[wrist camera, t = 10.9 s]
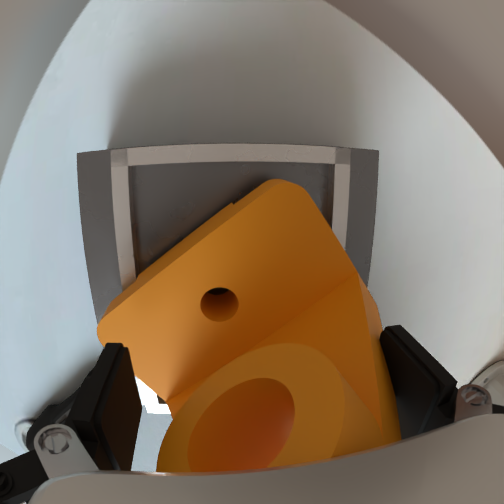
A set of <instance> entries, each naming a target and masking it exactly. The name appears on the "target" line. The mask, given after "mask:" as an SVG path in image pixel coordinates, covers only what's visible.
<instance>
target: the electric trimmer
mask: <svg viewBox="0 0 504 504" xmlns="http://www.w3.org/2000/svg"><path fill="white" fill-rule="evenodd" d="M93 370H94V369H93ZM93 370H92V371H91V372H89V374H88V375H87V377H90V376H91V374H92V372H93ZM80 388H81V387H80ZM80 388H79V389H78V390H77V391H76V392H75V393H74V394H72V395H71V396H70V397H69V398H68V399H66V400H65V401H64V402H63V403H61V404H59V405H58V406H54V405H49V406H48V407H47V408H46V409H45V410H44V411H43V413H42V414H41V415H40V416H39V417H38V419H37V420H36V421H35V422H34V424H33V425H32V426H31V427H30V429H29V430H28V432H27V437H26V446H27V448H28V450H29V451H31V450H34V449H35V447H34V438H35V436H36V434H37V433H38V432H39V431H40V430H41V429H42V428H44V427H46V426H48V425H52V424H62V425H64V424H65V421H66V419H67V417H68V414H69V412H70V410H71V407H72V405H73V403H74V401H75V398H76V396H77V394H78V392H79V390H80Z"/></svg>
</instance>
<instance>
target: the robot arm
mask: <svg viewBox="0 0 504 504" xmlns="http://www.w3.org/2000/svg"><path fill="white" fill-rule="evenodd" d="M379 340H380V344H381V347H382V350H383V354H384V357H385V360H386V364H387V367H388V371H389V375H390V378H391V382H392V385H393V389H394V393H395V397H396V404H397V410H398V417H399V424H400V432H401V439H402V440H400V441H397V442H393V443H390V444H386V445H383V446H379V447H375V448H372V449H368V450H364V451H360V452H355V453H351V454H347V455H342V456H338V457H333V458H328V459H322V460H317V461H311V462H305V463H299V464H293V465H285V466H278V467H269V468H260V469H250V470H237V471H220V472H144V471H131V466H132V461H133V455H134V449H135V444H136V438H137V433H138V428H139V423H140V418H141V413H142V403H141V399H140V395H139V391H138V387H137V383H136V379H135V375H134V371H133V366H132V362H131V357H130V352H129V349H128V347H124V345H123V344H122V343H106V344H105V347H104V349H103V351H102V353H101V355H100V357H99V359H98V361H97V363H96V366H95V368H94V370H93V372H92V374H91V376H90V377H86V378H85V379H84V381H83V383H82V385H81V388H80V390H79V392H78V394H77V396H76V398H75V401H74V403H73V405H72V407H71V410H70V412H69V414H68V417H67V419H66V421H65V424H64V425H62V424H52V425H48V426H46V427H44V428H42V429H41V430H40V431H39V432H38V433H37V434H36V436H35V438H34V447H35V449H34V450H31V451H29V452H27V453H25V454H22V455H20V456H18V457H15V458H13V459H11V460H8V461H6V462H4V463H1V464H0V504H504V360H503V361H499V362H497V363H495V364H493V365H492V366H490V367H489V368H487V369H486V370H485V371H483V372H482V373H481V374H480V375H479V376H478V377H477V378H476V379H475V380H474V381H473V382H472V383H471V384H467V385H463V386H461V387H460V388H459V389H457V388H456V384H457V381H456V380H455V379H454V378H453V376H452V375H451V374H450V373H449V372H448V371H447V370H446V369H445V368H444V367H443V366H442V365H441V364H440V363H439V362H438V361H437V360H436V359H435V358H434V357H433V356H432V355H431V354H430V353H429V352H428V351H427V350H426V349H425V348H424V347H423V346H422V345H421V344H420V343H419V342H417V341H416V340H415V339H414V338H413V337H412V336H411V335H410V334H409V333H408V332H407V331H406V330H405V329H404V328H403V327H402V326H401V325H394V326H387V327H385V329H384V331H382V332H381V334H380V339H379Z"/></svg>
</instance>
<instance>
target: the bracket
mask: <svg viewBox="0 0 504 504" xmlns="http://www.w3.org/2000/svg"><path fill="white" fill-rule="evenodd" d="M217 287H222V288H227V289H229V290H228V291H227V292H226V293H224V294H221V295H213V294H210V293H208V292H207V291H209V290H210V289H213V288H217ZM382 331H383V329H382V325H381V320H380V316H379V312H378V308H377V305H376V303H375V301H374V299H373V298H372V296H371V294H370V292H369V291H368V289H367V287H366V285H365V284H364V282H363V280H362V279H361V277H360V275H359V273H358V272H357V270H356V268H355V267H354V265H353V263H352V262H351V260H350V258H349V257H348V255H347V253H346V252H345V250H344V249H343V247H342V245H341V244H340V242H339V240H338V239H337V237H336V236H335V234H334V232H333V231H332V229H331V228H330V226H329V224H328V223H327V221H326V220H325V218H324V217H323V215H322V214H321V212H320V210H319V209H318V207H317V206H316V204H315V203H314V201H313V200H312V198H311V197H310V195H309V194H308V192H307V191H306V190H305V189H304V188H302V187H301V186H299V185H297V184H294V183H292V182H289V181H286V180H283V179H271V180H268V181H266V182H264V183H263V184H261V185H260V186H259V187H257V188H256V189H254V190H253V191H252V192H250V193H249V194H248V195H246V196H245V197H244V198H242V199H241V200H240V201H238V202H237V203H235V204H233V203H230V204H229V205H228V206H226V207H225V208H224V209H222V210H221V211H220V212H218V213H217V214H216V215H214V216H213V217H212V218H210V219H209V220H208V221H206V222H205V223H204V224H202V225H201V226H200V227H199V228H197V229H196V230H195V231H193V232H192V233H191V234H190V235H188V236H187V237H186V238H184V239H183V240H182V241H181V242H179V243H178V244H177V245H175V246H174V247H173V248H172V249H170V250H169V251H168V252H167V253H165V254H164V255H163V256H162V257H160V258H159V259H158V260H157V261H155V262H154V263H153V264H152V265H150V266H149V267H148V268H147V269H145V270H144V271H143V272H142V273H140V274H139V275H138V277H137V279H136V281H135V282H134V283H133V284H132V285H130V286H129V287H128V288H127V289H126V290H124V291H123V292H122V293H121V294H120V295H118V296H117V297H116V298H115V299H113V300H112V301H111V303H110V304H109V306H108V308H107V309H106V311H105V313H104V315H103V317H102V318H101V320H100V322H99V324H98V327H97V335H98V338H99V341H100V342H101V344H102V345H103V346H104V347H105V344H106V343H122V344H123V345H124V347H128V349H129V352H130V357H131V362H132V366H133V371H134V375H135V376H136V377H137V378H138V379H139V380H141V381H142V382H143V383H144V384H145V385H146V386H147V387H149V388H150V389H151V390H152V391H153V392H155V393H156V394H157V395H158V396H159V397H161V398H162V399H163V400H164V401H165V402H166V404H167V406H168V409H169V411H170V413H171V416H172V418H173V420H172V422H171V424H170V426H169V428H168V430H167V432H166V434H165V436H164V439H163V441H162V444H161V447H160V451H159V455H158V460H157V468H156V472H220V471H237V470H250V469H260V468H269V467H278V466H285V465H293V464H299V463H305V462H311V461H317V460H322V459H328V458H333V457H338V456H342V455H347V454H351V453H355V452H360V451H364V450H368V449H372V448H375V447H379V446H383V445H386V444H390V443H393V442H397V441H400V440H402V439H401V432H400V424H399V417H398V410H397V404H396V397H395V393H394V389H393V385H392V382H391V378H390V375H389V371H388V367H387V364H386V360H385V357H384V354H383V350H382V347H381V344H380V340H379V339H380V334H381V332H382Z"/></svg>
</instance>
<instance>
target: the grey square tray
mask: <svg viewBox="0 0 504 504" xmlns="http://www.w3.org/2000/svg"><path fill="white" fill-rule="evenodd" d="M378 162H379V151H378V150H368V149H357V148H346V147H333V146H317V145H298V144H269V143H207V144H178V145H159V146H144V147H131V148H119V149H109V150H99V151H90V152H82V153H77V172H78V190H79V204H80V215H81V225H82V234H83V242H84V250H85V257H86V264H87V270H88V277H89V283H90V288H91V294H92V299H93V304H94V309H95V314H96V319H97V324H99V322H100V320H101V318H102V317H103V315H104V313H105V311H106V309H107V308H108V306H109V304H110V303H111V301H112V300H113V299H115V298H116V297H117V296H118V295H120V294H121V293H122V292H123V291H124V290H126V289H127V288H128V287H129V286H130V285H132V284H133V283H134V282H135V281H136V279H137V277H138V275H139V274H140V273H142V272H143V271H144V270H145V269H147V268H148V267H149V266H150V265H152V264H153V263H154V262H155V261H157V260H158V259H159V258H160V257H162V256H163V255H164V254H165V253H167V252H168V251H169V250H170V249H172V248H173V247H174V246H175V245H177V244H178V243H179V242H181V241H182V240H183V239H184V238H186V237H187V236H188V235H190V234H191V233H192V232H193V231H195V230H196V229H197V228H199V227H200V226H201V225H202V224H204V223H205V222H206V221H208V220H209V219H210V218H212V217H213V216H214V215H216V214H217V213H218V212H220V211H221V210H222V209H224V208H225V207H226V206H228V205H229V204H230V203H233V204H235V203H237V202H238V201H240V200H241V199H242V198H244V197H245V196H246V195H248V194H249V193H250V192H252V191H253V190H254V189H256V188H257V187H259V186H260V185H261V184H263V183H264V182H266V181H268V180H271V179H283V180H286V181H289V182H292V183H294V184H297V185H299V186H301V187H302V188H304V189H305V190H306V191H307V192H308V194H309V195H310V197H311V198H312V200H313V201H314V203H315V204H316V206H317V207H318V209H319V210H320V212H321V214H322V215H323V217H324V218H325V220H326V221H327V223H328V224H329V226H330V228H331V229H332V231H333V232H334V234H335V236H336V237H337V239H338V240H339V242H340V244H341V245H342V247H343V249H344V250H345V252H346V253H347V255H348V257H349V258H350V260H351V262H352V263H353V265H354V267H355V268H356V270H357V272H358V273H359V275H360V277H361V279H362V280H363V282H364V284H365V285H366V287H367V286H368V278H369V271H370V263H371V254H372V245H373V235H374V225H375V213H376V199H377V183H378ZM228 290H229V289H227V288H222V287H217V288H213V289H210V290H209V291H207V292H208V293H210V294H213V295H221V294H224V293H226V292H227V291H228ZM103 349H104V346H103ZM135 379H136V383H137V387H138V391H139V395H140V399H141V403H142V405H146V408H147V412H148V413H170V411H169V409H168V406H167V404H166V402H165V401H164V400H163V399H162V398H161V397H159V396H158V395H157V394H156V393H155V392H153V391H152V390H151V389H150V388H149V387H147V386H146V385H145V384H144V383H143V382H142V381H141V380H139V379H138V378H137V377H136V376H135Z"/></svg>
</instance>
